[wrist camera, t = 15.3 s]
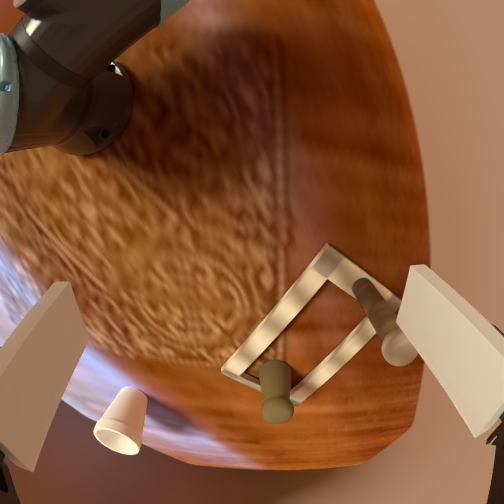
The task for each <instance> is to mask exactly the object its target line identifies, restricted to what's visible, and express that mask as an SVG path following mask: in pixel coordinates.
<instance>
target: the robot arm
mask: <svg viewBox="0 0 504 504" xmlns="http://www.w3.org/2000/svg"><path fill="white" fill-rule="evenodd" d="M188 1H189V0H14V6H15V7H16V8H17V9H19V10H20V11H22V12H24V13H25V14H24V15H23V16H22V18H21V19H20V20H19V21H18V22H17V23H16V25H15V26H14V27H13V28H12V29H11V31H10V32H9V33H8V34H7V35H6V34H4V33H0V155H1V154H3V153H7V152H13V151H18V150H25V149H31V148H38V147H45V146H52V147H54V148H56V149H58V150H60V151H62V152H64V153H67V154H70V155H87V154H93V153H96V152H99V151H101V150H103V149H105V148H106V147H108V146H109V145H110V144H111V143H113V142H114V141H115V140H116V139H117V137H118V136H119V135H120V134H121V132H122V131H123V129H124V128H125V126H126V124H127V122H128V120H129V117H130V114H131V111H132V107H133V100H134V92H133V85H132V81H131V78H130V76H129V74H128V73H127V71H126V70H125V69H124V68H123V67H122V66H121V65H120V64H119V63H117V62H115V61H114V60H115V59H116V58H117V57H118V56H120V55H121V54H122V53H123V52H124V51H125V50H127V49H128V48H129V47H130V46H132V45H133V44H134V43H135V42H136V41H138V40H139V39H140V38H142V37H143V36H144V35H145V34H147V33H148V32H149V31H151V30H152V29H153V28H155V27H156V28H157V27H159V26H161V25H162V24H163V22H164V20H165V19H167V18H168V17H169V16H171V15H172V14H174V13H175V12H176V11H178V10H179V9H181V8H182V7H183V6H185V5H186V4H187V2H188ZM396 323H397V325H398V326H399V327H400V329H401V330H402V331H403V333H404V334H405V335H406V337H407V338H408V339H409V341H410V342H411V343H412V345H413V346H414V347H415V349H416V350H417V352H418V353H419V354H420V356H421V357H422V358H423V360H424V361H425V363H426V364H427V366H428V367H429V368H430V370H431V371H432V373H433V374H434V376H435V377H436V378H437V380H438V381H439V383H440V384H441V386H442V387H443V389H444V390H445V392H446V393H447V395H448V396H449V398H450V399H451V401H452V402H453V404H454V405H455V407H456V408H457V410H458V412H459V413H460V415H461V416H462V418H463V419H464V421H465V423H466V424H467V426H468V427H469V429H470V431H471V432H472V434H473V436H474V437H475V438H476V437H477V436H479V435H481V434H482V433H484V432H486V431H487V430H489V429H490V428H491V427H492V425H493V424H494V423H495V422H496V421H497V420H498V418H500V419H501V421H502V423H501V424H500V425H499V426H498V427H497V428H496V429H495V431H494V432H493V433H492V434H491V435H490V436H489V438H488V439H487V442H486V444H489V443H490V442H491V441H492V440H493V438H494V437H495V436H496V435H497V438H496V439H495V440H494V441H493V443H492V445H496V452H495V460H494V468H493V474H492V480H491V486H490V490H489V495H488V500H487V504H504V334H503V333H502V332H501V331H500V330H499V329H498V328H497V327H496V326H494V325H492V324H491V323H489V322H488V321H487V320H486V319H485V318H484V317H483V316H482V315H481V314H480V313H479V312H478V311H477V310H476V309H475V308H474V307H473V306H472V305H470V304H469V303H468V302H467V301H466V300H465V299H464V298H463V297H462V296H461V295H459V294H458V293H457V292H456V291H455V290H454V289H453V288H452V287H450V286H449V285H448V284H447V283H446V282H445V281H443V280H442V279H441V278H440V277H439V276H438V275H437V274H435V273H434V272H433V271H432V270H431V269H429V268H428V267H427V266H426V265H425V264H424V265H413V266H410V270H409V274H408V278H407V282H406V287H405V290H404V294H403V298H402V302H401V306H400V309H399V313H398V316H397V320H396ZM88 341H89V336H88V334H87V331H86V328H85V326H84V323H83V320H82V317H81V314H80V312H79V309H78V306H77V303H76V300H75V297H74V293H73V290H72V287H71V284H70V282H54V283H53V285H52V286H51V287H50V288H49V289H48V290H47V291H46V293H45V294H44V295H43V296H42V297H41V298H40V299H39V301H38V302H37V303H36V304H35V305H34V307H33V308H32V309H31V310H30V311H29V313H28V314H27V315H26V316H25V318H24V319H23V320H22V321H21V323H20V324H19V325H18V326H17V328H16V329H15V330H14V331H13V333H12V334H11V335H10V337H9V338H8V339H7V341H6V342H5V343H4V345H3V346H2V348H1V349H0V504H20V501H19V499H18V496H17V493H16V490H15V487H14V484H13V481H12V478H11V475H10V472H9V469H8V466H7V464H6V463H5V462H4V461H3V459H4V457H5V456H6V457H8V458H9V459H10V460H11V461H12V462H13V463H14V464H15V465H17V466H19V467H21V468H23V469H26V470H29V471H31V472H34V469H35V465H36V462H37V459H38V457H39V454H40V451H41V448H42V445H43V442H44V440H45V437H46V435H47V432H48V430H49V427H50V424H51V422H52V419H53V417H54V415H55V412H56V410H57V407H58V405H59V403H60V400H61V398H62V396H63V394H64V391H65V389H66V387H67V385H68V382H69V380H70V378H71V376H72V374H73V372H74V370H75V368H76V365H77V363H78V361H79V359H80V357H81V355H82V353H83V351H84V349H85V347H86V345H87V343H88Z"/></svg>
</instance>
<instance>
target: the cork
mask: <svg viewBox="0 0 504 504" xmlns="http://www.w3.org/2000/svg"><path fill="white" fill-rule="evenodd" d="M258 375H259V380H260V385H261V390H262V395H263V400H264V403H263V404H262V407H261V414H262V417H263V418H264V420H265V421H267V422H269V423H271V424H282V423H285V422H287V421H289V420H290V419H291V417H292V416H293V414H294V406H293V404H292V402H291V401H290V387H291V367H290V366H289V365H288V364H287V363H286V362H284V361H280V360H272V361H268V362H266V363H264V364H263V365H262V366H261V367H260V368H259V370H258Z"/></svg>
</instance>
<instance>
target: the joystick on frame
mask: <svg viewBox="0 0 504 504" xmlns="http://www.w3.org/2000/svg"><path fill="white" fill-rule="evenodd" d="M327 279H328V280H330V281H331V282H333V283H334V284H335V285H337V286H338V287H340V288H341V289H343V290H344V291H346V292H347V293H348V294H350V295H351V296H353V297H354V298H356V299H357V300H358V302H359V303H360V305H361V307H362V309H363V310H364V312H365V314H366V315H367V316H366V317H365V318H364V319H363V320H362V321H361V322H360V323H359V325H358V326H357V327H356V328H355V329H354V330H353V331H352V332H351V333H350V334H349V335H348V336H347V337H346V338H345V339H344V340H343V341H342V342H341V343H340V344H339V345H338V346H337V347H336V348H335V349H334V350H333V351H332V352H331V353H330V354H329V355H328V356H327V357H326V358H325V359H324V360H323V361H322V362H321V363H320V364H319V365H318V366H317V367H316V368H315V369H314V370H312V371H311V372H310V373H309V374H308V375H307V376H306V377H305V378H304V379H303V380H302V381H300V382H299V383H298V384H297V385H296V386H295V387H294V388H293V389H291V390H290V401H291V402H292V404H293V405H294V406H298V405H299V404H300V403H301V402H302V401H304V400H305V399H306V398H307V397H308V396H310V395H311V394H312V393H313V392H314V391H315V390H317V389H318V388H319V387H320V386H321V385H322V384H324V383H325V382H326V381H327V380H328V379H329V378H330V377H331V376H332V375H334V374H335V373H336V372H337V371H338V370H339V369H340V368H341V367H342V366H343V365H344V364H345V363H346V362H348V361H349V360H350V359H351V358H352V357H353V356H354V355H355V354H356V353H357V352H358V351H359V350H360V349H361V348H362V347H363V346H364V345H365V344H366V343H367V342H368V341H369V340H370V339H371V338H372V337H373V336H374V335H375V334H376V333H377V335H378V336H379V338H380V340H381V342H382V354H383V357H384V358H385V360H386V361H387V362H388V363H390V364H391V365H394V366H404V365H407V364H409V363H410V362H412V361H413V360H414V359H415V357H416V356H417V354H418V352H417V350H416V349H415V347H414V346H413V345H412V343H411V342H410V341H409V339H408V338H407V337H406V335H405V334H404V333H403V331H402V330H401V329H400V327H399V326H398V325H397V323H396V320H397V316H396V315H395V312H396V311H397V310H398V308H399V307H400V306H401V302H402V300H401V299H400V298H399V297H397V296H396V295H395V294H394V293H392V292H391V291H390V290H389V289H387V288H386V287H385V286H384V285H382V284H381V283H380V282H378V281H377V280H376V279H375V278H373V277H372V276H371V275H369V274H368V273H367V272H365V271H364V270H363V269H362V268H360V267H359V266H358V265H356V264H355V263H354V262H352V261H351V260H350V259H348V258H347V257H346V256H344V255H343V254H342V253H340V252H339V251H338V250H336V249H335V248H334V247H332V246H331V245H330V244H328V243H326V244H325V245H324V247H323V248H322V249H321V250H320V252H319V253H318V254H317V256H316V257H315V258H314V259H313V261H312V262H311V263H310V264H309V266H308V267H307V268H306V269H305V270H304V272H303V273H302V274H301V275H300V277H299V278H298V279H297V280H296V282H295V283H294V284H293V285H292V286H291V288H290V289H289V290H288V291H287V292H286V294H285V295H284V296H283V297H282V298H281V300H280V301H279V302H278V303H277V304H276V306H275V307H274V308H273V309H272V310H271V312H270V313H269V314H268V315H267V316H266V317H265V319H264V320H263V321H262V322H261V323H260V324H259V326H258V327H257V328H256V329H255V330H254V331H253V332H252V334H251V335H250V336H249V337H248V338H247V339H246V340H245V342H244V343H243V344H242V345H241V346H240V347H239V348H238V349H237V351H236V352H235V353H234V354H233V355H232V356H231V357H230V358H229V360H228V361H227V362H226V363H225V364H224V365H223V366H222V368H221V373H222V374H224V375H227V376H229V377H231V378H233V379H235V380H237V381H239V382H241V383H243V384H245V385H248V386H250V387H252V388H254V389H256V390H259V391H261V392H262V390H261V385H260V380H258V379H256V378H254V377H252V376H250V375H248V374H246V373H244V371H245V370H246V369H247V368H248V367H249V365H250V364H251V363H252V362H253V361H254V360H255V359H256V358H257V357H258V356H259V355H260V354H261V353H262V352H263V351H264V350H265V349H266V348H267V347H268V346H269V344H270V343H271V342H272V341H273V340H274V339H275V338H276V337H277V336H278V335H279V334H280V333H281V331H282V330H283V329H284V328H285V327H286V326H287V325H288V324H289V323H290V321H291V320H292V319H293V318H294V317H295V316H296V315H297V314H298V312H299V311H300V310H301V309H302V308H303V307H304V306H305V304H306V303H307V302H308V301H309V300H310V299H311V298H312V296H313V295H314V294H315V293H316V292H317V291H318V289H319V288H320V287H321V286H322V285H323V283H324V282H325V281H326V280H327Z"/></svg>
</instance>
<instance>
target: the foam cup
mask: <svg viewBox="0 0 504 504" xmlns="http://www.w3.org/2000/svg"><path fill="white" fill-rule="evenodd" d="M147 402H148V399H147V396H146V395H145V394H144V393H143V392H142V391H140V390H138V389H137V388H133V387H124V388H122V389H121V390H120V392H119V393H118V394H117V396H116V397H115V399H114V400H113V402H112V403H111V404H110V406H109V407H108V409H107V410H106V412H105V413H104V414H103V416H102V417H101V419H100V420H98V422H97V424H96V426H95V428H94V435H95V437H96V438H97V439H98V440H99V441H100V442H101V443H102V444H103V445H105V446H106V447H108V448H110V449H112V450H113V451H116V452H119V453H122V454H129V455H133V454H137V453H138V451H139V449H140V446H141V443H142V432H143V426H144V420H145V415H146V409H147Z"/></svg>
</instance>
